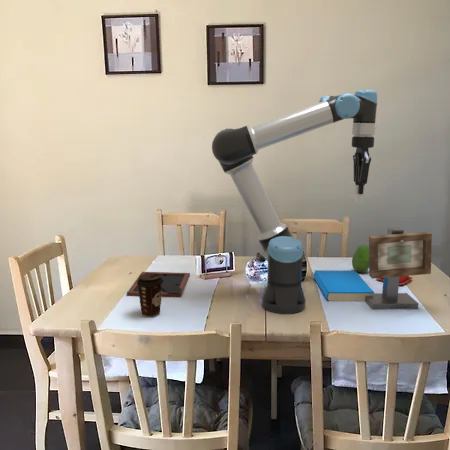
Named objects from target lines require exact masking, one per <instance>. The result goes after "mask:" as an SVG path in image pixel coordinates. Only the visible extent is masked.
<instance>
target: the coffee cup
mask: <svg viewBox="0 0 450 450" xmlns="http://www.w3.org/2000/svg"><path fill="white" fill-rule="evenodd" d="M138 277H139V276H138ZM162 283H163V279H162V277H160V275H159V274H157V273H154V274H153V273H147V274H143V275H141V276H140V277H139V279H138V281H137V285H138V290H139V296H138V297H139V305H140V315H141V316H142V317H145V318H146V317H148V318H149V317H151V318H152V317H156V316H159V315H160V314H161V306H162V305H161V304H162V297H161V296H162V286H161V284H162Z"/></svg>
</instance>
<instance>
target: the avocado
mask: <svg viewBox="0 0 450 450" xmlns="http://www.w3.org/2000/svg"><path fill="white" fill-rule="evenodd" d="M351 265H352V269H353V271H356V272H357V273H361V274H362V273H366V272H367V271H369V246H367V245H365V244H362V245H358V247H357V248H356V250H355V252H354V253H353V255H352V259H351Z"/></svg>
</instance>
